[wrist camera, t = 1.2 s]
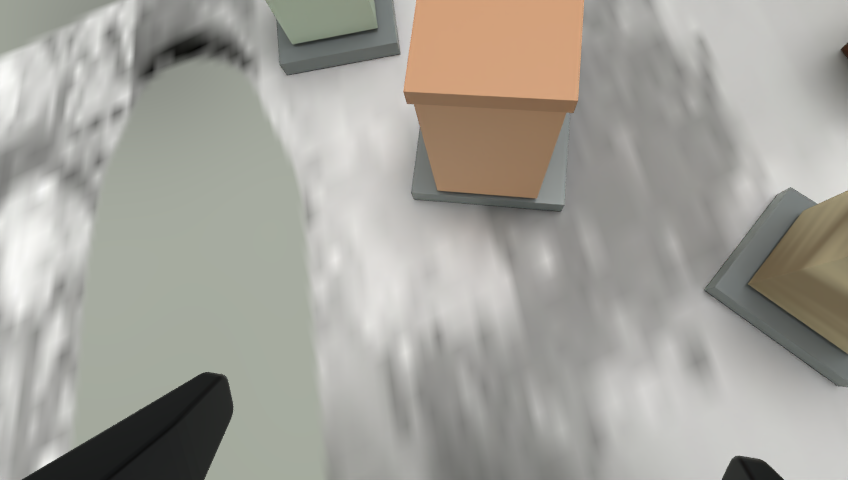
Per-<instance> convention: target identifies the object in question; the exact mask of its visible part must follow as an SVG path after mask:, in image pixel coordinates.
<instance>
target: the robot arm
mask: <svg viewBox="0 0 848 480" xmlns="http://www.w3.org/2000/svg"><path fill="white" fill-rule="evenodd" d="M232 414H233V401H232V397H231V392H230V387H229V383H228V379H227V377H226V376H225V375H223V374H217V373H210V372H205V373H202V374H200V375H198V376H196V377H195V378H193V379H192V380H190V381H188V382H186V383H184V384H183V385H181V386H179V387H178V388H176V389H174V390H173V391H171V392H169V393H168V394H166V395H164V396H163V397H161V398H159V399H157V400H156V401H154V402H152V403H151V404H149V405H147V406H146V407H144V408H142V409H140V410H139V411H137V412H135V413H134V414H132V415H130V416H129V417H127V418H125V419H124V420H122V421H120V422H118V423H117V424H115V425H113V426H112V427H110V428H108V429H107V430H105V431H103V432H102V433H100V434H98V435H96V436H95V437H93V438H91V439H90V440H88V441H86V442H85V443H83V444H81V445H79V446H78V447H76V448H74V449H73V450H71V451H69V452H68V453H66V454H64V455H63V456H61V457H59V458H57V459H56V460H54V461H52V462H51V463H49V464H47V465H46V466H44V467H42V468H41V469H39V470H37V471H35V472H34V473H32V474H30V475H29V476H27V477H25V478H24V479H22V480H204V479H205V477H206V474H207V472H208V470H209V468H210V465H211V463H212V461H213V458H214V456H215V454H216V452H217V449H218V447H219V445H220V443H221V440H222V438H223V436H224V434H225V431H226V429H227V427H228V424H229V422H230V420H231V417H232ZM722 480H784V479H783V478H782V477H781V476H780V475H779V474H778V473H777V472H776V471H775V470H773V469H772V468H771V467H770V466H769V465H768V464H767V463H766V462H764V461H763V460H760V459H756V458H750V457H744V456H735V457H734V458H732V460H731V461H730V463H729V465H728V467H727V469H726V472H725V474H724V476H723V478H722Z"/></svg>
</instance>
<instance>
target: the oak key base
mask: <svg viewBox="0 0 848 480" xmlns="http://www.w3.org/2000/svg"><path fill="white" fill-rule="evenodd" d="M815 205H817V203H815V202H814V201H812V200H810V199H809V198H807V197H806V196H804V195H802V194H801V193H799V192H798V191H796V190H795V189H793V188H791V187H790V188H788V189H786V190H785V191H783V192H781V193H779V194H777V196H776V197H775V198H774V200H773V201H772V202H771V203H770V205H769V206H768V207H767V209H766V210H765V211H764V213H763V214H762V215H761V217H760V218H759V219H758V220H757V222H756V223H755V224H754V226H753V227H752V228H751V230H750V231H749V232H748V234H747V235H746V236H745V237H744V239H743V240H742V241H741V243H740V244H739V245H738V247H737V248H736V249H735V251H734V252H733V253H732V254H731V256H730V257H729V258H728V260H727V261H726V262H725V264H724V265H723V266H722V267H721V269H720V270H719V271H718V273H717V274H716V275H715V277H714V278H713V279H712V281H711V282H710V283H709V284H708V286H707V287H706V288H705V291H706V292H708V293H709V294H711V295H712V296H713V297H715V298H716V299H718V300H719V301H720V302H722V303H723V304H725V305H726V306H727V307H729V308H730V309H732V310H733V311H734V312H736V313H737V314H739V315H740V316H741V317H743V318H744V319H745V320H747V321H748V322H750V323H751V324H752V325H754V326H755V327H757V328H758V329H759V330H761V331H762V332H764V333H765V334H766V335H768V336H769V337H771V338H772V339H773V340H775V341H776V342H778V343H779V344H780V345H782V346H783V347H785V348H786V349H787V350H789V351H790V352H792V353H793V354H794V355H796V356H797V357H798V358H800V359H801V360H803V361H804V362H805V363H807V364H808V365H810V366H811V367H812V368H814V369H815V370H817V371H818V372H819V373H821V374H822V375H824V376H825V377H826V378H828V379H829V380H831V381H832V382H833V383H835V384H836V385H838V386H843V387H848V354H847V353H846V352H844V351H843V350H841V349H840V348H839V347H837V346H836V345H834V344H833V343H831V342H830V341H829V340H827V339H826V338H824V337H823V336H821V335H820V334H819V333H817V332H816V331H814V330H813V329H811V328H810V327H808V326H807V325H806V324H804V323H803V322H801V321H800V320H798V319H797V318H796V317H794V316H793V315H791V314H790V313H788V312H787V311H786V310H784V309H783V308H781V307H780V306H778V305H777V304H776V303H774V302H773V301H771V300H770V299H768V298H767V297H766V296H764V295H763V294H761V293H760V292H758V291H757V290H755V289H754V288H753V287H751V286H750V285H748V283H749V282H750V280H751V279H752V278H753V276H754V275H755V274H756V272H757V271H758V270H759V268H760V267H761V266H762V264H763V263H764V262H765V261H766V259H767V258H768V257H769V255H770V254H771V253H772V251H773V250H774V249H775V247H776V246H777V245H778V243H779V242H780V241H781V239H782V238H783V237H784V235H785V234H786V233H787V231H788V230H789V229H790V227H791V226H792V225H793V223H794V222H795V221H796V219H797V218H798V217H799V215H800V214H801V213H802V212H803V211H804V210H806V209H808V208H810V207H813V206H815Z"/></svg>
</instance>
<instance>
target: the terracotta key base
mask: <svg viewBox="0 0 848 480" xmlns="http://www.w3.org/2000/svg"><path fill="white" fill-rule="evenodd" d="M569 124H570V113H566V116H565V119H564V122H563V125H562V127H561V130H560V133H559V136H558V139H557V142H556V145H555V148H554V151H553V154H552V156H551V159H550V162H549V165H548V168H547V171H546V174H545V177H544V180H543V182H542V185H541V188H540V191H539V194H538V197H537V198H524V197H512V196H499V195H487V194H474V193H462V192H449V191H437V187H436V184H435V180H434V176H433V172H432V169H431V165H430V161H429V158H428V154H427V150H426V147H425V143H424V139H423V136H422V132H421V128H420V131H419V138H418V146H417V153H416V161H415V168H414V176H413V184H412V191H411V193H412V195H413V198H414V199H418V200H431V201H443V202H455V203H467V204H479V205H491V206H503V207H516V208H528V209H540V210H552V211H561V210H562V208H563V207H564V203H565V187H566V171H567V155H568V140H569Z"/></svg>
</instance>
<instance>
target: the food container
mask: <svg viewBox="0 0 848 480" xmlns="http://www.w3.org/2000/svg"><path fill="white" fill-rule="evenodd" d="M841 50H842V51H843V53H844V54H845V56H846V57H847V58H848V43H847V44H846V45H845V46H844V47H843V48H842V49H841Z"/></svg>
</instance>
